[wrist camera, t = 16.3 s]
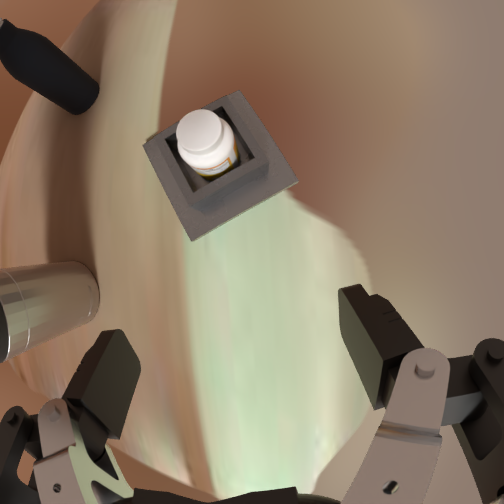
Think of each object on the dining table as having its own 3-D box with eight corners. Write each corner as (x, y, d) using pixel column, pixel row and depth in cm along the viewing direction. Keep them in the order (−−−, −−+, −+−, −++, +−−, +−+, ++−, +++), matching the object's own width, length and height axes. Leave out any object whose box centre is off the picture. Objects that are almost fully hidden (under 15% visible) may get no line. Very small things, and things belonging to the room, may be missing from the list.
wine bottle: (74, 122, 33) (-67, 42, 3) (64, 100, 33) (-57, 23, 3) (104, 94, 33) (-24, -13, 3) (92, 74, 33) (-18, -23, 3)
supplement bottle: (208, 133, 31) (187, 94, 21) (248, 149, 31) (241, 113, 21) (186, 171, 31) (156, 145, 22) (227, 190, 31) (210, 168, 21)
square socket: (193, 241, 33) (179, 241, 27) (146, 148, 33) (127, 133, 27) (297, 182, 32) (304, 171, 26) (240, 94, 32) (235, 70, 26)
